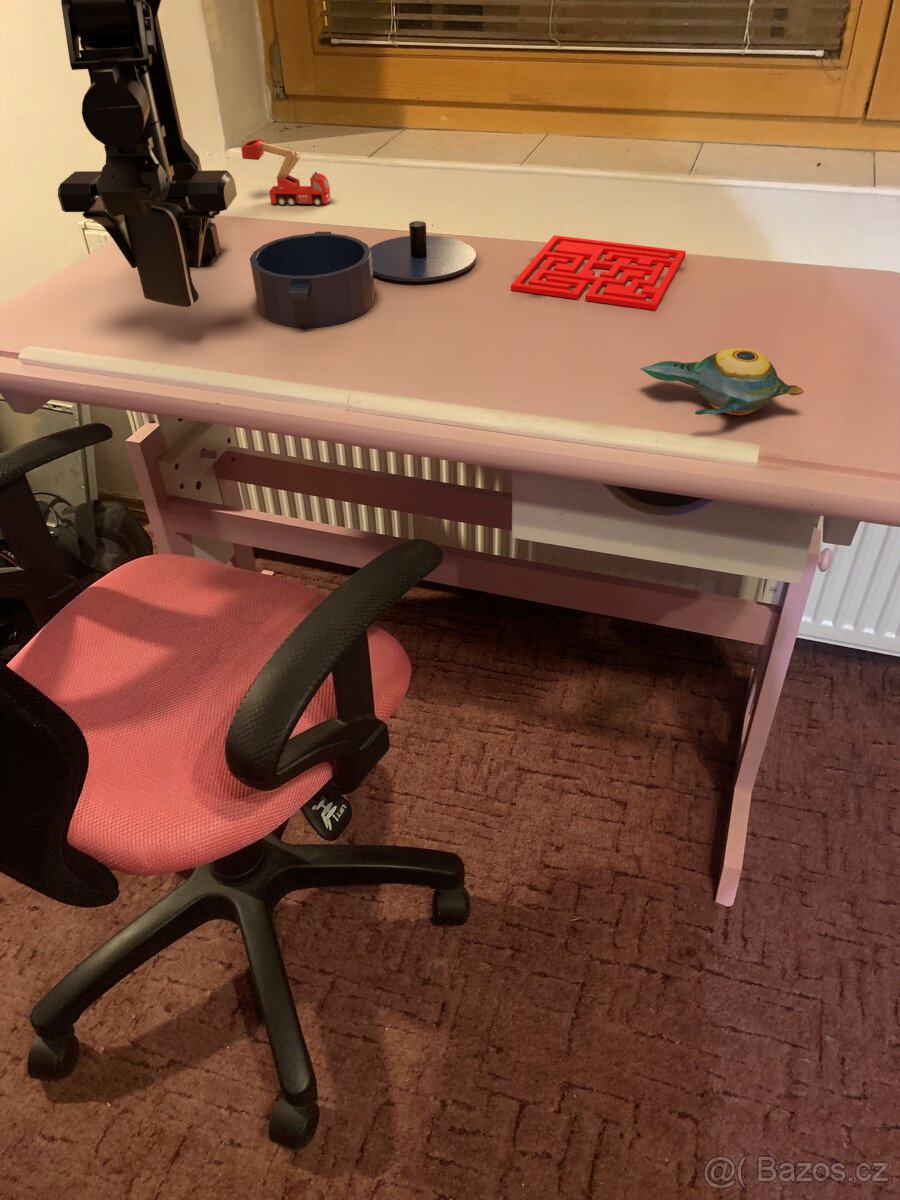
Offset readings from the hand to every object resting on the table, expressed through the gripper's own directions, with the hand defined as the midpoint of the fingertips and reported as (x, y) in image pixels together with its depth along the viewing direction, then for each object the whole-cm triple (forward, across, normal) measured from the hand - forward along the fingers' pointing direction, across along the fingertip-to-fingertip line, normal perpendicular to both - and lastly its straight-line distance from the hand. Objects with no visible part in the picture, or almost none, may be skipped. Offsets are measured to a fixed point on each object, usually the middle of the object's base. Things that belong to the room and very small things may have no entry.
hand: (166, 267), depth 105 cm
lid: (+9, +28, +26) cm, 39 cm away
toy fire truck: (+10, +4, +53) cm, 54 cm away
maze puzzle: (+10, +54, +22) cm, 59 cm away
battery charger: (+4, 0, 0) cm, 4 cm away
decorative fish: (+10, +63, -16) cm, 66 cm away
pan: (+10, +15, +12) cm, 21 cm away
